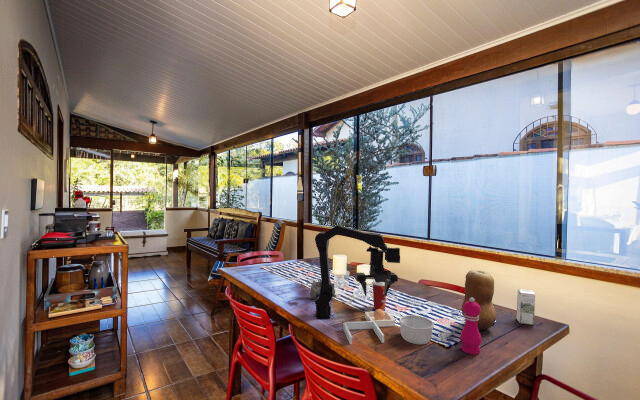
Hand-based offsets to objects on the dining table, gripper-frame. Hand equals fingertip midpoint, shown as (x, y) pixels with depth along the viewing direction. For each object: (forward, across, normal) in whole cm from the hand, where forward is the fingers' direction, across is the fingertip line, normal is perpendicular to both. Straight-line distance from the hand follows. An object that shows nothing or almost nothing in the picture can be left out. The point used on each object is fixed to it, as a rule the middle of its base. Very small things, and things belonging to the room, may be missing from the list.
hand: (375, 295), depth 144 cm
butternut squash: (+11, +43, -11) cm, 46 cm away
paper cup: (+12, +7, +15) cm, 21 cm away
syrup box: (+11, +69, -7) cm, 70 cm away
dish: (+12, +2, -1) cm, 12 cm away
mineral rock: (+12, -20, +31) cm, 39 cm away
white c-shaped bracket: (+12, -9, -14) cm, 20 cm away
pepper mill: (+12, +28, -29) cm, 42 cm away
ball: (+11, +2, -1) cm, 11 cm away
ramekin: (+12, +12, -18) cm, 24 cm away
